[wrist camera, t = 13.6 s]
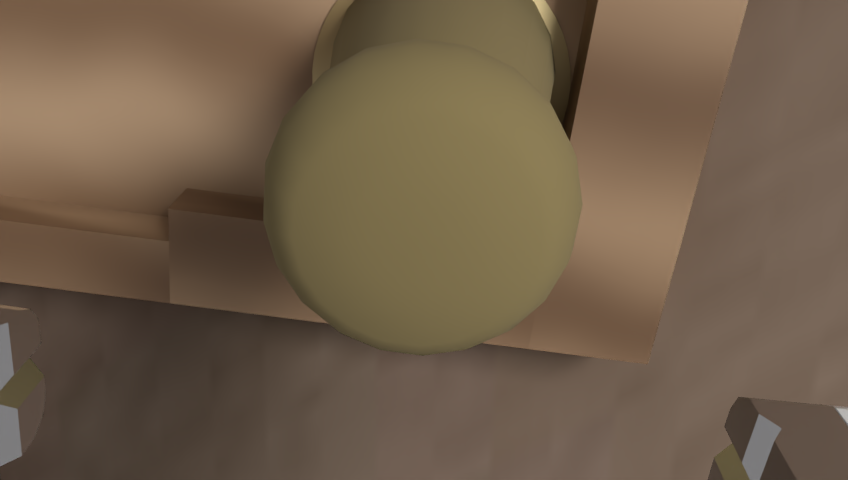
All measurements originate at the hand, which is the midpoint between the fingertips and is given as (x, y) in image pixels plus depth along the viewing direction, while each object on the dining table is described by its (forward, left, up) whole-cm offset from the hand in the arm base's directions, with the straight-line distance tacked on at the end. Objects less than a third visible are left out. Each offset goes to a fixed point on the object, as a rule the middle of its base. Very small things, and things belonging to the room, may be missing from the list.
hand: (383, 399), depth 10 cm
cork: (+1, 0, -14) cm, 14 cm away
